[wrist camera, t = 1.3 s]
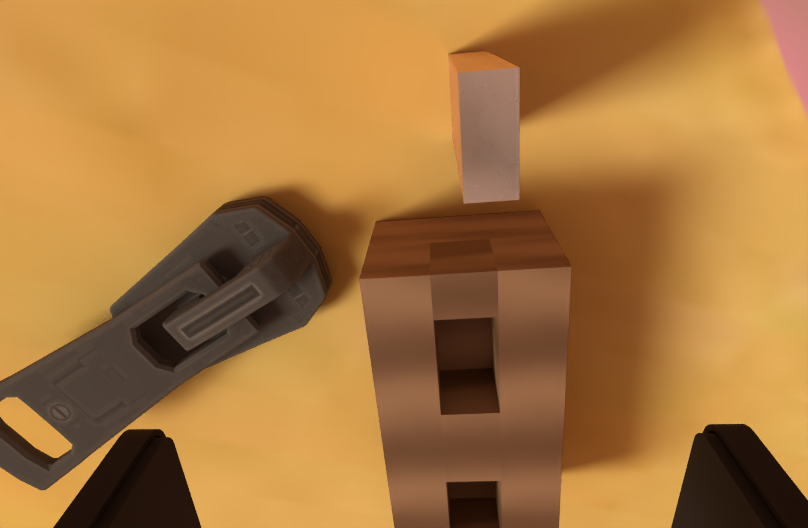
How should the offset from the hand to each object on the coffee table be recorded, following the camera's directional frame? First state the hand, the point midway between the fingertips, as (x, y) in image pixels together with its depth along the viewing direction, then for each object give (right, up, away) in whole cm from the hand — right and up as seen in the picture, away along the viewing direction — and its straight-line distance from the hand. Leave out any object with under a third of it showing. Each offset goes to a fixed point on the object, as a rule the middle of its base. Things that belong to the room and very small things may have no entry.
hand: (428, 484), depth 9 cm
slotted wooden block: (+4, -3, +27) cm, 27 cm away
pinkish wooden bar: (+3, +13, +19) cm, 24 cm away
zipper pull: (-17, 0, +27) cm, 32 cm away
